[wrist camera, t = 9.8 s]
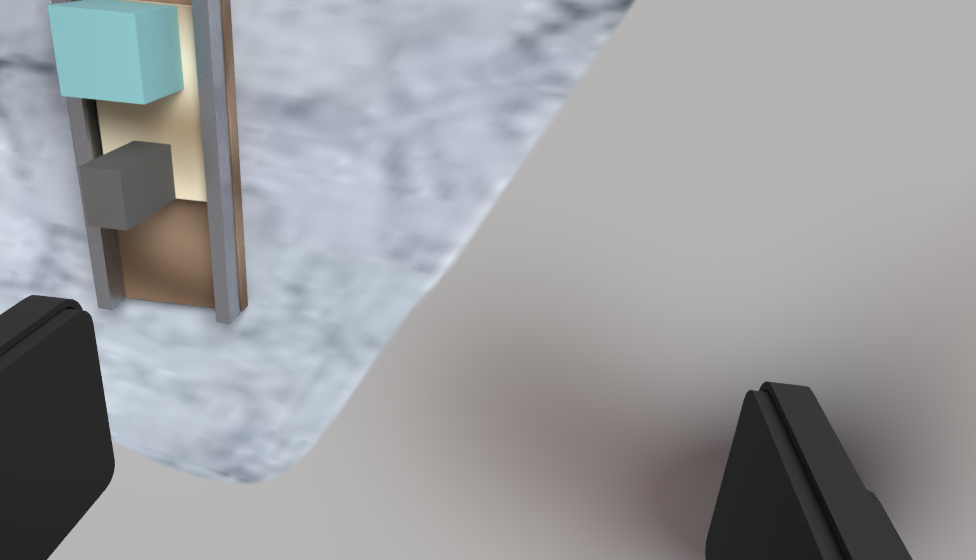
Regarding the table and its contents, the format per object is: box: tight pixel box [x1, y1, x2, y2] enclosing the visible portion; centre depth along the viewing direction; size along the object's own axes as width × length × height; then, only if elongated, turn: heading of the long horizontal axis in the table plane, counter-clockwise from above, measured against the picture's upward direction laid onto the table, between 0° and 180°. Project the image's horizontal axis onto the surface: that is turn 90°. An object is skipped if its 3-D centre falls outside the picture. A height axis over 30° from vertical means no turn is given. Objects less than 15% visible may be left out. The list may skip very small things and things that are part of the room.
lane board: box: [52, 0, 248, 324], centre depth 41 cm, size 18×8×2 cm, turn 175°
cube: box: [47, 0, 184, 105], centre depth 36 cm, size 4×4×4 cm
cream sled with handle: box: [79, 0, 207, 231], centre depth 37 cm, size 10×6×6 cm, turn 175°
